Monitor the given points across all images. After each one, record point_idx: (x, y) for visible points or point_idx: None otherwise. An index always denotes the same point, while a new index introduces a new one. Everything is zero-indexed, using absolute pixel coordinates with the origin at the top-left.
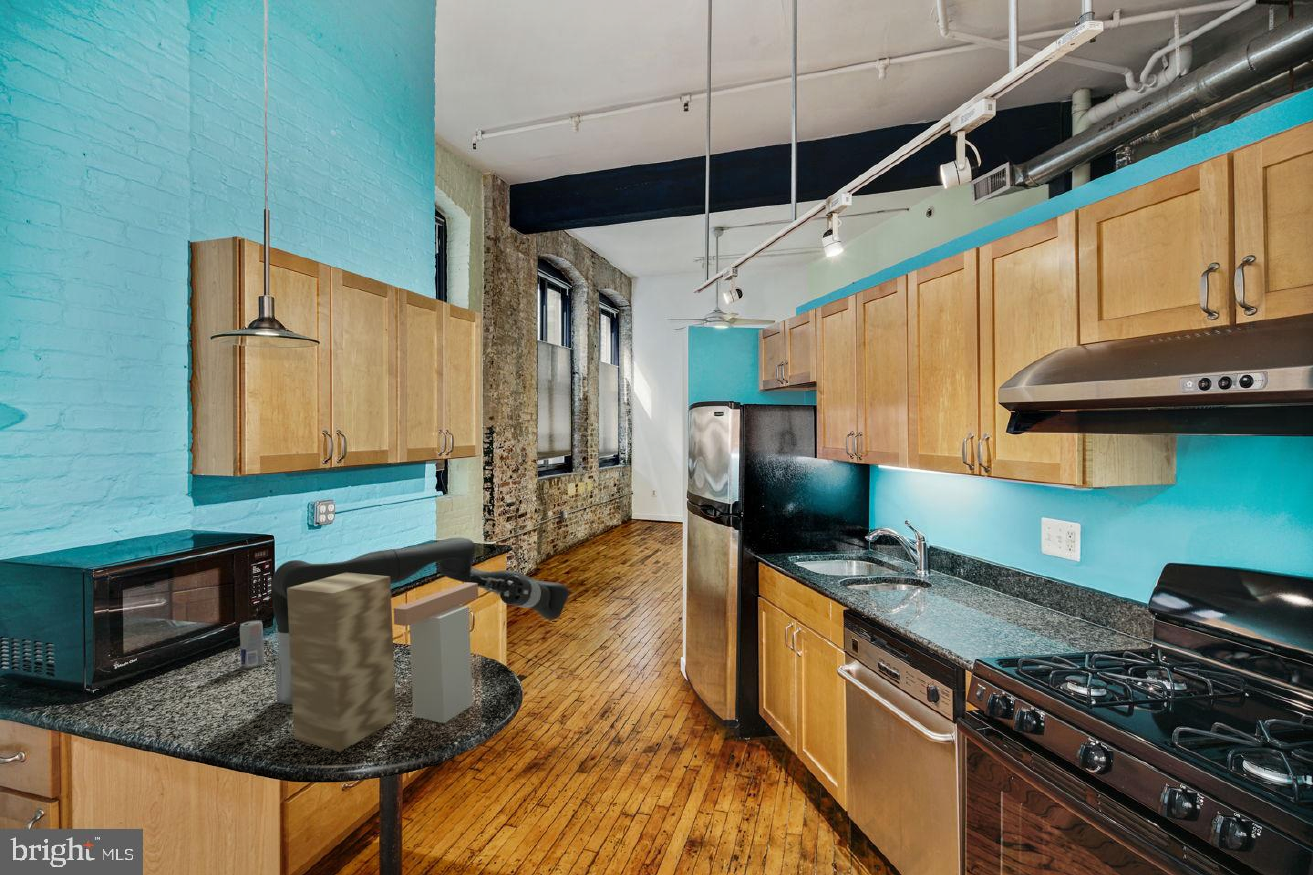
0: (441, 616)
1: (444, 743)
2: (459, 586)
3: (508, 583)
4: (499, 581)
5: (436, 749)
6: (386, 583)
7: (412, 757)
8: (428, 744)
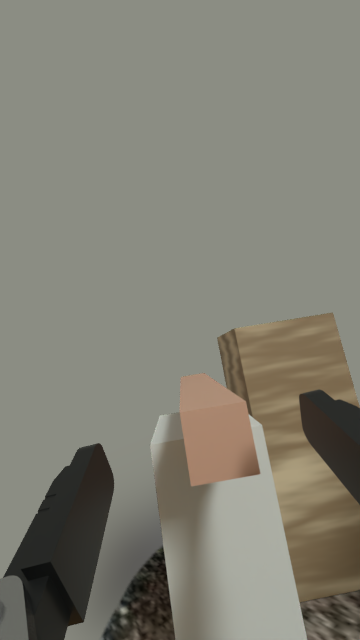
0: (164, 417)
1: (141, 597)
2: (214, 394)
3: (6, 586)
4: (77, 458)
5: (143, 580)
6: (234, 338)
7: (161, 552)
8: (164, 582)
